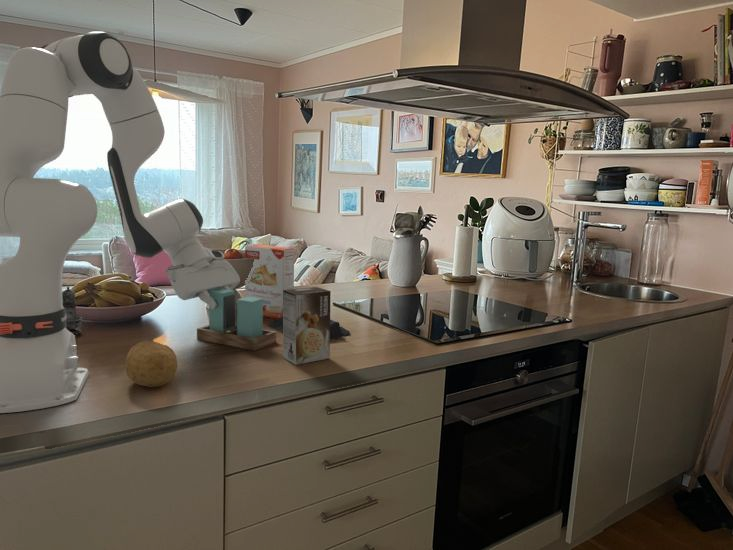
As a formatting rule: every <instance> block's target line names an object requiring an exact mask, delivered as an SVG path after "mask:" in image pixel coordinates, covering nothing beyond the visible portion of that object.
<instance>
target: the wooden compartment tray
mask: <svg viewBox="0 0 733 550" xmlns="http://www.w3.org/2000/svg"><path fill="white" fill-rule="evenodd" d="M196 339H197V340H199V341H200V340H201V341H206V342H211V343H215V344H221V345H224V346H231V347H235V348H238V349H239V348H240V349H245V350H250V351H254V352H255V351H258V350H261V349H262V348H265V347H268V346H270V345H273V344H274V343H276V342H277V330H269V329H265V328H263V335H262V336H260V337H257V338H250V337H244V336H239V335H236V323H235V326H234V329H232V330H229V331H226V332H218V331H213V330H209V324H207V325H204V326H201V327H197V328H196Z"/></svg>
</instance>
